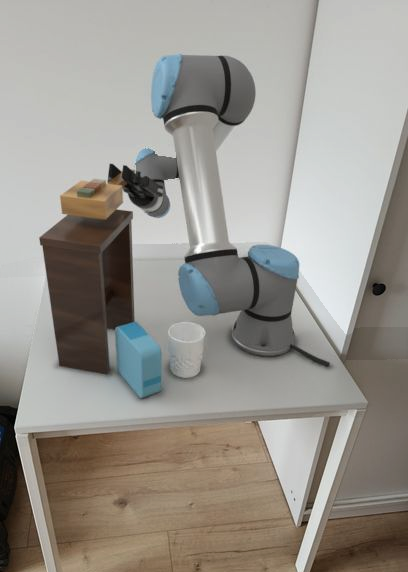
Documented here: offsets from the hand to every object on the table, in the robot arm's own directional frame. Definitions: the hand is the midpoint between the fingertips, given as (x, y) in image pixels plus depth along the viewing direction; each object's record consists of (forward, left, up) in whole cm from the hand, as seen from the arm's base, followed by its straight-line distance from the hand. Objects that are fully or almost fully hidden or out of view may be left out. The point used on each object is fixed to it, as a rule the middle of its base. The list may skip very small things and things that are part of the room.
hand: (117, 170), depth 111 cm
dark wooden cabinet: (-11, +13, -36) cm, 40 cm away
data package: (-27, +13, -36) cm, 47 cm away
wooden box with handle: (-3, +4, -4) cm, 6 cm away
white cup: (-29, +2, -36) cm, 47 cm away
